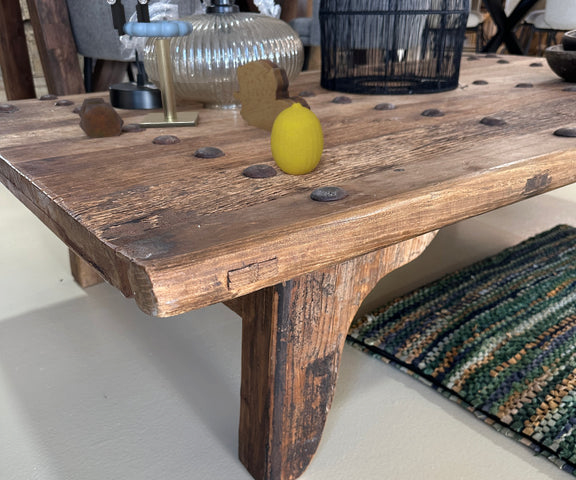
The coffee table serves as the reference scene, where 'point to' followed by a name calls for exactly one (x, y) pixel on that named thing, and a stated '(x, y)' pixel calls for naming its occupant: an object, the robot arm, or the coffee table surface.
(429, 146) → the coffee table surface
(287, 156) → the lemon
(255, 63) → the wooden carving
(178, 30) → the ring
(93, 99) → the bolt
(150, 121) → the post
